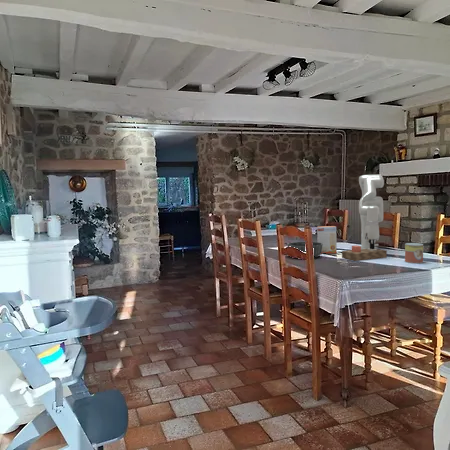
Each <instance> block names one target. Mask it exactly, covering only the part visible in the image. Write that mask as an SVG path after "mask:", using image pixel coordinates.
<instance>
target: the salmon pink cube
mask: <svg viewBox="0 0 450 450" xmlns="http://www.w3.org/2000/svg"><path fill="white" fill-rule="evenodd" d="M351 250H352V252H361V245H357V244H356V245H351Z"/></svg>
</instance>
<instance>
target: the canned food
mask: <svg viewBox="0 0 450 450" xmlns="http://www.w3.org/2000/svg"><path fill="white" fill-rule="evenodd" d="M404 262H405V263H408V264H409V263H410V264H422V263H424V243H419V242H418V243H417V242H406V243H404Z"/></svg>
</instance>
